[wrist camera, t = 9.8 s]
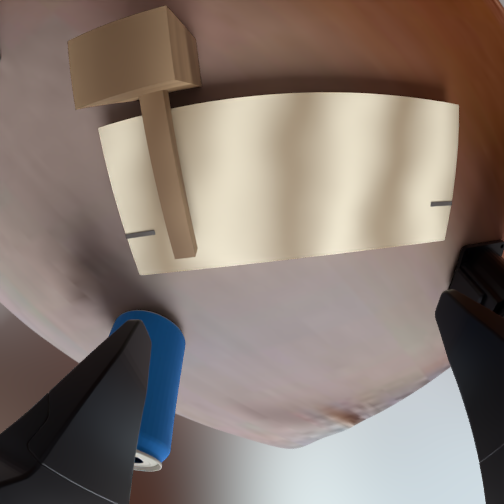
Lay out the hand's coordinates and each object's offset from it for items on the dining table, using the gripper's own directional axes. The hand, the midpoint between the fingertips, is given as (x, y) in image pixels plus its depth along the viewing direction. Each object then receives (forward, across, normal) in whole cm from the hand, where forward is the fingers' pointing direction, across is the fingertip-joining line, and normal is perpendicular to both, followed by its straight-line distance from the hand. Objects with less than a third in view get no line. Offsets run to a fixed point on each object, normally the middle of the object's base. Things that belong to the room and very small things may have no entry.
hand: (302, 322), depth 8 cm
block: (+11, +5, -4) cm, 13 cm away
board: (+12, -2, -1) cm, 12 cm away
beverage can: (+12, +11, +11) cm, 20 cm away
